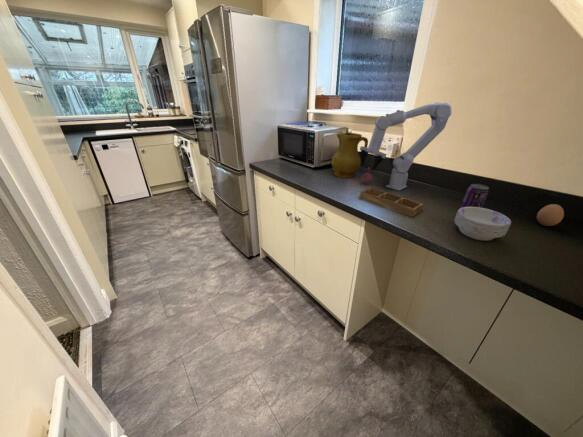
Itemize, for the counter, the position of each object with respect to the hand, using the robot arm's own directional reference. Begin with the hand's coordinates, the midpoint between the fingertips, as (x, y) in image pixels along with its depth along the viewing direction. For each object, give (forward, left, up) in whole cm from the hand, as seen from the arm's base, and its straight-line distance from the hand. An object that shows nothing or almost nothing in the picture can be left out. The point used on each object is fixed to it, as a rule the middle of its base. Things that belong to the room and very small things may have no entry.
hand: (367, 167), depth 125 cm
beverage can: (-6, +49, -10) cm, 50 cm away
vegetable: (-2, 0, -10) cm, 11 cm away
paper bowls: (+13, +56, -10) cm, 58 cm away
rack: (+13, +22, -10) cm, 27 cm away
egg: (-16, +72, -10) cm, 74 cm away
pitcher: (-7, -18, -10) cm, 22 cm away
